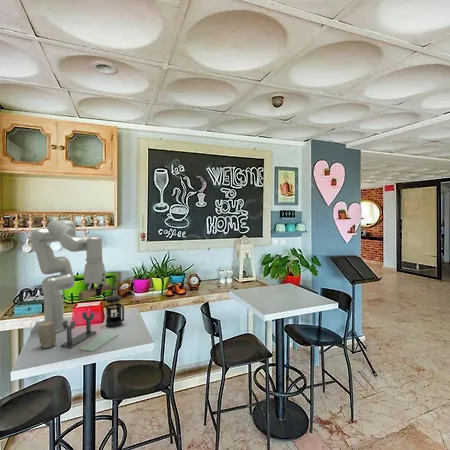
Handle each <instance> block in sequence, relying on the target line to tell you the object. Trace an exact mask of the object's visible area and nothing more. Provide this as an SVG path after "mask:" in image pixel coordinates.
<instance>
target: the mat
mask: <svg viewBox="0 0 450 450" xmlns="http://www.w3.org/2000/svg"><path fill="white" fill-rule="evenodd" d="M118 336H119V335H118V334H116V333H108V332H107V333H106V332H105V333H103V334H102V335H100V336H98V337H97V338H95V339H93V340H91V341H90V342H88V343H86V344H85V345H83V346H81V347H80V348H78V350H79V351H84V352H91V353H94V352H95V351H96V350H98V349H100V348H102V347H103V346H104V345H106V344H108V343H109V342H110V341H112V340H113V339H115V338H116V337H118Z"/></svg>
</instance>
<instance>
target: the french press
mask: <svg viewBox="0 0 450 450" xmlns="http://www.w3.org/2000/svg"><path fill="white" fill-rule="evenodd" d="M110 287H111V286H110ZM117 288H118V287H116V286H112V287H111V289H110V290H112V295H110V296H106V297H105V300H106V303H107V305H106V306H105V310H106V320H105V323H106V324H105V327H106V328H108V329H109V328H110V329H111V328H112V329H113V328H119V327H121V326H122V325H123V322H124V321H125V307H124V305H122V303H119V302H121V300H122V295H115V293H114V292H115V290H116V289H117ZM115 310H116V312H115ZM112 311H113V312H112Z"/></svg>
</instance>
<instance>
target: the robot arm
mask: <svg viewBox="0 0 450 450" xmlns="http://www.w3.org/2000/svg"><path fill="white" fill-rule="evenodd" d="M76 227H77V226H76V224H75V222H74V221H72V220H70V219H55V220H50V221H49V222H48V223H47V225H46V227H41V228H36V229H34V230H32V231H31V233H30V235H29V236H30V238H29V239H30V244H31V246H32V249H33V250H34V251H35V254H36V257H37V261H38V265H39V269H40V272H41V274H43V275H46V276H47V275H50V276H47V277H45V278H44V279H43V280H42V281H41V289H42V294H43V311H44V320H43V321H42V322H41V323H40V325H41V324H43V323H45V322H53V323H54V327H55V333H60V332H62V331H65V330H66V329H63V321H64V299H63V296H62V295H61V294H60V293H59V292H61V291H66V290H69V289H71V288H73V287H74V286H75V275H74V273H73V269H72V265H71V262H70V260H69V259H68V258H67V257H66V256H57V257H56V256H55V254H54V250H53V248H51V246H50V245H48V244H47V243H56V242H60V245H61V247H63V248H64V249H65V250H68V252H73V253H77V252H78V253H79V252H83V251H84V252H85V251H86V258H85V262H86V263H85V265H84V271H83V283H84V284H86V285H87V287H88V290H89V289H92V288H95V287H97V289H96V295H95V296H96V298H98V297H100V296H102V293H103V292H101V288H102V287H103V285H105V284H108V282H107V280H106V268H105V264H104V261H103V240H102V238H101V237H99V236H90V235H89V236H76V235H77V234H76V230H77V229H76ZM54 274H55V275H54ZM95 284H96V286H95Z"/></svg>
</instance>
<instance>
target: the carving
mask: <svg viewBox="0 0 450 450" xmlns="http://www.w3.org/2000/svg"><path fill="white" fill-rule="evenodd" d="M38 330H39V331H38V339H39V343H40V347H41V348H42V349H47V348H51V347H53V346H54V345H56V343H57V334H56V333H55V327H54V323H53V322H45V323H43V324H41V323H40V325H39V329H38Z"/></svg>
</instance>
